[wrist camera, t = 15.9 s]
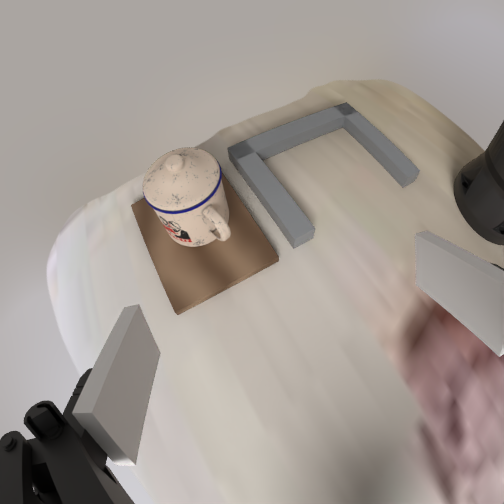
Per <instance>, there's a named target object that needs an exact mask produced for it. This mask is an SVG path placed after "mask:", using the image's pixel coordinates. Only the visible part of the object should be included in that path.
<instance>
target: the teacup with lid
mask: <svg viewBox="0 0 504 504" xmlns="http://www.w3.org/2000/svg"><path fill="white" fill-rule="evenodd" d="M221 178H222V172H221V167H220V165H219V163H218V161H217V160H216V159H215V158H214V157H213V156H212V155H211V154H210V153H208V152H206V151H204V150H202V149H198V148H180V149H176V150H173V151H170V152H168V153H166V154H164V155H163V156H161V157H160V158H158V159H157V160H156V161H155V162H154V163H153V164H152V165H151V167H150V168H149V169H148V171H147V173H146V175H145V177H144V181H143V194H144V197H145V200H146V201H147V203H148V204H149V205H150V206H151V207H152V208H153V209H154V211H155V212H156V214H157V216H158V217H159V219H160V221H161V222H162V224H163V226H164V227H165V229H166V230H167V232H168V234H169V235H170V237H171V238H172V239H173V240H174V241H176V242H177V243H179V244H181V245H184V246H189V247H197V246H203V245H206V244H208V243H210V242H212V241H214V240H215V239H218V240H220V241H226V240H227V239H228V238H229V237H230V235H231V231H230V228H229V226H228V221H229V208H228V204H227V200H226V196H225V192H224V188H223V184H222V180H221Z"/></svg>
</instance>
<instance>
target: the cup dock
mask: <svg viewBox="0 0 504 504" xmlns="http://www.w3.org/2000/svg"><path fill="white" fill-rule="evenodd" d="M342 127H343V128H344V129H345V130H346V131H348V132H349V133H350V134H351V135H352V136H353V137H354V138H355V139H356V140H357V141H358V142H359V143H360V144H361V145H362V146H363V147H364V148H365V149H366V150H367V151H368V152H369V153H370V154H371V155H372V156H373V157H374V158H375V159H376V160H377V161H378V162H379V163H380V164H381V165H382V166H383V167H384V168H385V169H386V170H387V171H388V172H389V173H390V174H391V175H392V177H393V178H394V179H395V180H396V181H397V182H398V183H399V184H400V185H401V186H402V188H403V187H405V186H407V185H409V184H410V183H412V182H414V181H415V180H416V178H417V176H418V174H419V172H420V170H419V169H418V168H417V167H416V166H415V165H414V164H413V163H412V162H411V161H410V160H409V159H408V158H407V157H406V156H405V155H404V154H403V153H402V152H401V151H400V150H399V149H398V148H397V147H396V146H395V145H394V144H393V143H392V142H391V141H390V140H389V139H388V138H387V137H385V136H384V135H383V134H382V133H381V132H380V131H379V130H378V129H377V128H376V127H375V126H373V125H372V124H371V123H370V122H369V121H368V120H367V119H366V118H364V117H363V116H362V115H361V114H360V113H359V112H357V111H356V110H355V109H354V108H353V107H351V106H350V105H349V104H348V103H347V102H346V103H343V104H340V105H337V106H334V107H331V108H328V109H325V110H322V111H320V112H317V113H314V114H311V115H308V116H305V117H303V118H300V119H297V120H295V121H292V122H289V123H287V124H284V125H282V126H279V127H276V128H274V129H271V130H269V131H266V132H264V133H261V134H259V135H257V136H254V137H252V138H249V139H247V140H245V141H242V142H240V143H238V144H235V145H233V146H231V147H228V153H229V158H230V160H231V161H232V163H233V164H234V166H235V167H236V168H237V170H238V171H239V172H240V174H241V175H242V177H243V178H244V179H245V181H246V182H247V183H248V185H249V186H250V188H251V189H252V190H253V192H254V193H255V195H256V196H257V197H258V199H259V200H260V202H261V203H262V204H263V206H264V207H265V209H266V210H267V211H268V213H269V214H270V216H271V217H272V218H273V220H274V221H275V223H276V224H277V226H278V227H279V228H280V230H281V231H282V233H283V234H284V236H285V237H286V238H287V240H288V241H289V243H290V244H291V246H292V247H293V249H294V248H296V247H298V246H299V245H301V244H303V243H305V242H307V241H308V240H310V239H312V238H313V236H314V231H315V227H314V226H313V225H312V223H311V222H310V221H309V219H308V218H307V217H306V215H305V214H304V213H303V212H302V210H301V209H300V208H299V206H298V205H297V204H296V202H295V201H294V200H293V199H292V197H291V196H290V195H289V193H288V192H287V191H286V190H285V188H284V187H283V186H282V185H281V183H280V182H279V181H278V180H277V178H276V177H275V176H274V175H273V173H272V172H271V171H270V170H269V168H268V167H267V166H266V165H265V163H264V162H263V161H262V160H264V159H267V158H269V157H271V156H273V155H276V154H278V153H280V152H283V151H285V150H287V149H290V148H292V147H294V146H297V145H299V144H302V143H304V142H307V141H309V140H311V139H314V138H316V137H319V136H321V135H324V134H326V133H329V132H332V131H334V130H337V129H339V128H342Z"/></svg>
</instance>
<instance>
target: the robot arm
mask: <svg viewBox="0 0 504 504" xmlns="http://www.w3.org/2000/svg"><path fill="white" fill-rule="evenodd" d="M454 194H455V199H456V202H457V205H458V207H459V209H460V211H461V213H462V215H463V216H464V218H465V219H466V221H467V222H468V223H469V225H470V226H471V227H472V228H473V229H474V230H475V231H476V232H477V233H478V234H479V235H480V236H482V237H483V238H485V239H486V240H488V241H490V242H492V243H494V244H498V245H504V121H503V123H502V124H501V126H500V128H499V130H498V131H497V133H496V135H495V136H494V138H493V140H492V141H491V143H490V144H489V146H488V148H487V149H486V151H485V152H484V153H482V154H481V155H479V156H478V157H477V158H475V159H474V160H472V161H471V162H469V163H468V164H466V165H465V166H464V167H463V168H462V169H461V171H460V172H459V174H458V176H457V177H456V179H455V183H454ZM415 251H416V286H418V287H419V288H420V289H421V290H423V291H424V292H425V293H426V294H428V295H429V296H430V297H431V298H432V299H434V300H435V301H436V302H437V303H439V304H440V305H441V306H442V307H443V308H445V309H446V310H447V311H448V312H449V313H450V314H452V315H453V316H454V317H455V318H456V319H458V320H459V321H460V322H461V323H462V324H463V325H464V326H466V327H467V328H468V329H469V330H470V331H471V332H472V333H474V334H475V335H476V336H477V337H478V338H479V339H480V340H481V341H483V342H484V343H485V344H486V345H487V346H488V347H489V348H490V349H491V350H492V351H494V352H495V353H496V354H497V355H498V356H499V357H500V356H502V355H503V354H504V269H503V268H501V267H500V266H498V265H496V264H492V263H489V262H487V261H485V260H483V259H482V258H480V257H478V256H476V255H474V254H472V253H470V252H468V251H467V250H465V249H463V248H461V247H459V246H457V245H455V244H453V243H451V242H449V241H447V240H445V239H443V238H441V237H439V236H437V235H435V234H433V233H431V232H429V231H424V232H420V233H417V234H415ZM159 357H160V351H159V348H158V346H157V344H156V342H155V340H154V338H153V335H152V333H151V331H150V329H149V326H148V324H147V322H146V320H145V317H144V315H143V313H142V310H141V308H140V305H139V304H138V305H133V306H129V307H125V308H124V309H123V311H122V313H121V315H120V316H119V318H118V320H117V322H116V324H115V326H114V328H113V330H112V331H111V333H110V335H109V337H108V339H107V341H106V343H105V345H104V347H103V349H102V351H101V353H100V355H99V357H98V359H97V361H96V363H95V365H94V367H93V368H91V369H88V370H87V371H86V372H85V373H84V374H83V375H82V376H81V377H80V379H79V381H78V383H77V385H76V388H75V389H74V392H73V396H71V398H70V400H69V402H68V404H67V406H66V408H65V410H64V412H63V415H62V414H61V413H60V411H59V410H58V408H57V407H56V406H55V405H54V403H53V402H51V401H41V402H39V403H37V404H35V405H34V406H32V407H31V408H30V409H29V410H28V412H27V413H26V415H25V417H24V424H25V425H26V427H27V428H28V429H29V430H30V431H31V432H32V434H33V435H34V436H35V437H36V438H34V439H30V440H26V439H25V438H24V437H23V436H22V434H20V432H18V431H11V432H9V433H6V434H5V435H4V436H3V437H2V438H1V440H0V504H134V502H133V501H132V500H131V498H130V497H129V496H128V494H127V493H126V491H125V490H124V489H123V487H122V486H121V484H120V483H119V482H118V480H117V479H116V477H115V476H114V474H113V473H112V472H111V470H110V469H109V468H108V467H107V466H106V465H105V464H106V460H107V457H109V458H110V459H111V460H112V461H113V462H114V463H115V464H116V465H136V460H137V455H138V450H139V445H140V440H141V435H142V430H143V425H144V421H145V416H146V412H147V407H148V403H149V398H150V394H151V390H152V385H153V381H154V377H155V373H156V369H157V365H158V361H159ZM33 487H34V490H33Z"/></svg>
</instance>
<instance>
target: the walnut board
mask: <svg viewBox="0 0 504 504" xmlns="http://www.w3.org/2000/svg"><path fill="white" fill-rule="evenodd" d="M221 180H222V184H223V188H224V192H225V196H226V200H227V204H228V208H229V221H228V226H229V228H230V231H231V235H230V237H229V238H228V239H227V240H226V241H220V240H218V239H215V240H214V241H212V242H210V243H208V244H206V245H203V246H197V247H189V246H184V245H181V244H179V243H177V242H176V241H174V240H173V239H172V238H171V237H170V235H169V234H168V232H167V230H166V229H165V227H164V226H163V224H162V222H161V221H160V219H159V217H158V216H157V214H156V212H155V211H154V209H153V208H152V207H151V206H150V205H149V204H148V203H147V201H146V200H145V198H143V199H141V200H140V201H138V202H136V203H134V204H132V205H131V207H132V210H133V212H134V215H135V218H136V220H137V223H138V226H139V228H140V231H141V233H142V236H143V239H144V241H145V244H146V246H147V249H148V251H149V254H150V256H151V258H152V261H153V263H154V266H155V268H156V270H157V273H158V275H159V278H160V280H161V282H162V284H163V287H164V289H165V291H166V294H167V296H168V298H169V300H170V303H171V305H172V307H173V309H174V311H175V313H176V314H177V315H179V314H181V313H183V312H185V311H186V310H188V309H190V308H192V307H194V306H196V305H198V304H200V303H202V302H204V301H205V300H207V299H209V298H211V297H213V296H215V295H217V294H219V293H220V292H222V291H224V290H226V289H228V288H230V287H232V286H234V285H235V284H237V283H239V282H241V281H243V280H245V279H247V278H248V277H250V276H252V275H254V274H256V273H258V272H260V271H261V270H263V269H265V268H267V267H269V266H271V265H272V264H274V263H276V262H278V261H279V257H278V255H277V254H276V252H275V251H274V249H273V248H272V246H271V245H270V243H269V242H268V240H267V239H266V237H265V236H264V234H263V233H262V231H261V230H260V228H259V227H258V225H257V224H256V222H255V221H254V219H253V218H252V216H251V215H250V213H249V212H248V210H247V209H246V207H245V206H244V204H243V203H242V201H241V200H240V198H239V197H238V195H237V194H236V192H235V191H234V189H233V188H232V186H231V185H230V183H229V182H228V181H227V179H226V178H225V176H224V175H223V173H222V178H221Z"/></svg>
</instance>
